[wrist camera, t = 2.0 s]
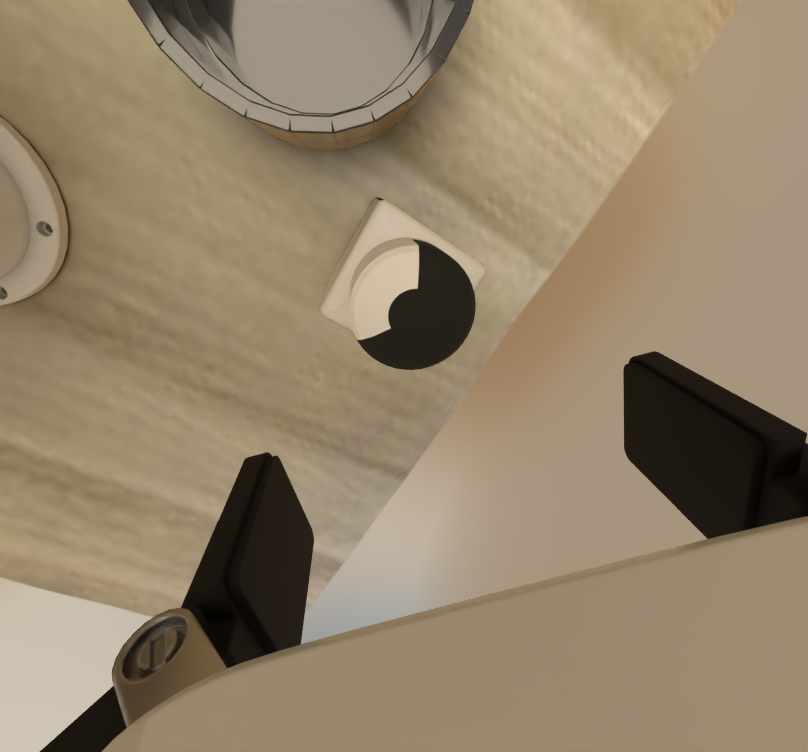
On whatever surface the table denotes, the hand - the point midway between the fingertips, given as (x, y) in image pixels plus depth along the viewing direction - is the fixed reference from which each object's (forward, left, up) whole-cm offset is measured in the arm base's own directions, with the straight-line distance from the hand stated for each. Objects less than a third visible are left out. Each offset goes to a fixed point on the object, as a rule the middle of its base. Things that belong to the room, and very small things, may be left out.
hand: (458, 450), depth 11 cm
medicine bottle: (0, +1, -21) cm, 21 cm away
